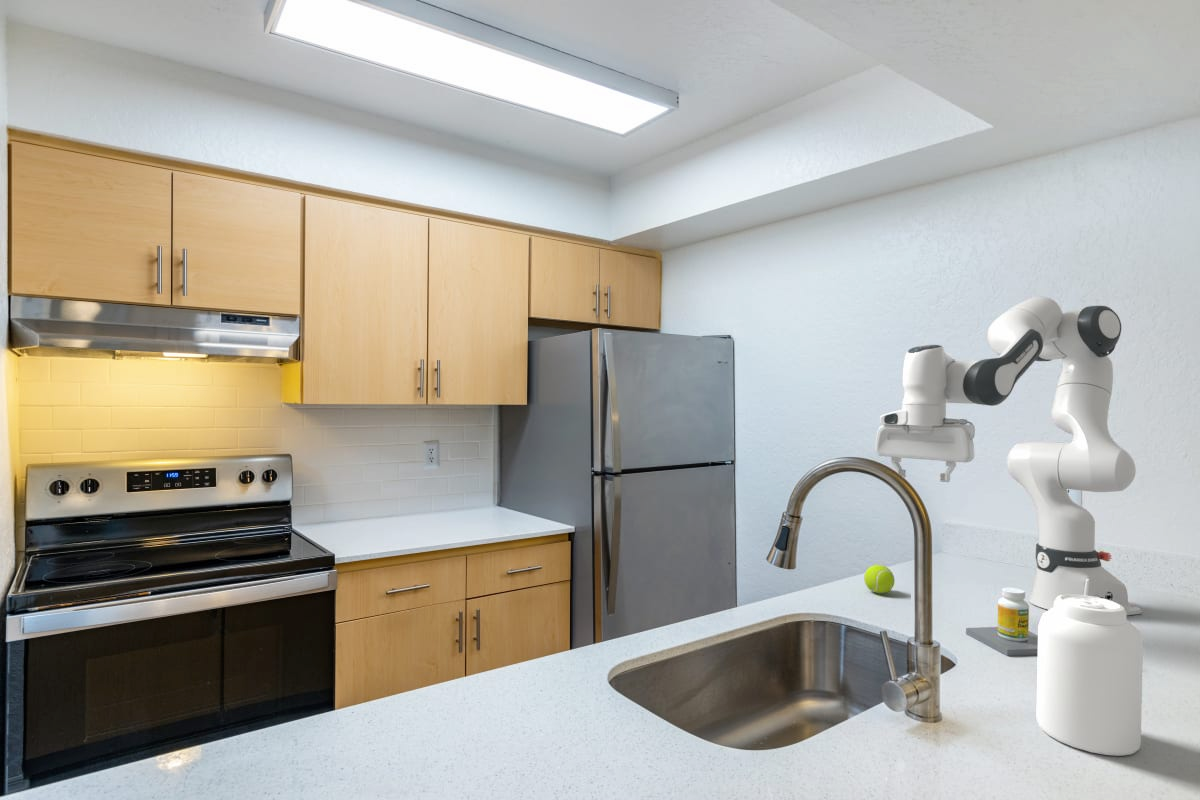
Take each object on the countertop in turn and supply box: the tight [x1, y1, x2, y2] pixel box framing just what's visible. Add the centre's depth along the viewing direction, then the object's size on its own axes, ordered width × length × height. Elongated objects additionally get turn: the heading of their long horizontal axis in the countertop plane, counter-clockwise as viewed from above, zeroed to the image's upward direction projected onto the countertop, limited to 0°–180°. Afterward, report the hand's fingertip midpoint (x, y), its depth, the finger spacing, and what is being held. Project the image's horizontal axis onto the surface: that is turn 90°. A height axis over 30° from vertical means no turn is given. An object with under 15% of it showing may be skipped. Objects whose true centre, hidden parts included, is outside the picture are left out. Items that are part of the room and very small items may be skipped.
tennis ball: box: [863, 564, 895, 595], centre depth 169 cm, size 7×7×7 cm
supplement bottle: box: [997, 587, 1030, 642], centre depth 136 cm, size 5×5×10 cm
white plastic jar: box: [1035, 594, 1144, 757], centre depth 99 cm, size 12×12×20 cm
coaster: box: [965, 626, 1038, 657], centre depth 136 cm, size 12×12×1 cm
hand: (922, 479), depth 150 cm, fingers open, 8 cm apart
